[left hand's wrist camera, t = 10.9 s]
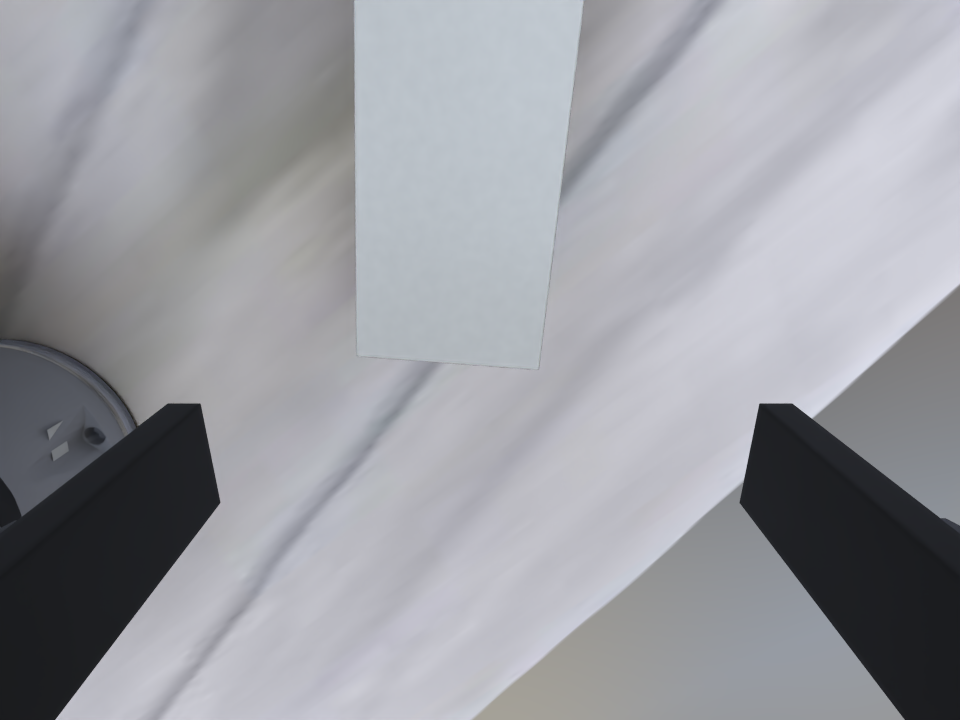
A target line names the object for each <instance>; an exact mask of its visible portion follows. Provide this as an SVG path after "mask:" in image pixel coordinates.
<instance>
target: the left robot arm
mask: <svg viewBox="0 0 960 720" xmlns="http://www.w3.org/2000/svg"><path fill="white" fill-rule="evenodd" d="M219 504H220V498H219V493H218V488H217V483H216V478H215V474H214V469H213V464H212V459H211V454H210V449H209V444H208V439H207V434H206V429H205V424H204V419H203V414H202V409H201V404H167V405H165V406H164V407H163V408H162V409H160V410H159V411H158V412H156V413H155V414H154V415H152V416H151V417H150V418H149V419H147V420H146V421H145V422H143V423H142V424H141V425H140V426H138V427H137V428H136V426H135V424H134V421H133V419H132V417H131V415H130V414H129V412H128V410H127V408H126V407H125V405H124V404H123V403H122V401H121V400H120V398H119V397H118V396H117V395H116V394H115V392H114V391H113V390H112V389H111V388H110V387H109V386H108V385H107V384H106V383H105V382H104V381H103V380H102V379H101V378H100V377H98V376H97V375H96V374H95V373H94V372H92V371H91V370H90V369H88V368H87V367H86V366H84V365H82V364H81V363H79V362H78V361H76V360H74V359H73V358H71V357H69V356H67V355H65V354H63V353H61V352H58V351H56V350H54V349H51V348H48V347H45V346H42V345H38V344H35V343H30V342H25V341H18V340H0V720H55V719H56V718H57V717H58V715H59V714H60V713H61V711H62V710H63V709H64V707H65V706H66V705H67V703H68V702H69V701H70V700H71V698H72V697H73V696H74V694H75V693H76V692H77V690H78V689H79V688H80V686H81V685H82V684H83V682H84V681H85V680H86V679H87V677H88V676H89V675H90V673H91V672H92V671H93V669H94V668H95V667H96V665H97V664H98V663H99V661H100V660H101V659H102V658H103V656H104V655H105V654H106V652H107V651H108V650H109V648H110V647H111V646H112V644H113V643H114V642H115V640H116V639H117V638H118V637H119V635H120V634H121V633H122V631H123V630H124V629H125V627H126V626H127V625H128V623H129V622H130V621H131V619H132V618H133V617H134V615H135V614H136V613H137V612H138V610H139V609H140V608H141V606H142V605H143V604H144V602H145V601H146V600H147V598H148V597H149V596H150V594H151V593H152V592H153V591H154V589H155V588H156V587H157V585H158V584H159V583H160V581H161V580H162V579H163V577H164V576H165V575H166V573H167V572H168V571H169V570H170V568H171V567H172V566H173V564H174V563H175V562H176V560H177V559H178V558H179V556H180V555H181V554H182V552H183V551H184V550H185V549H186V547H187V546H188V545H189V543H190V542H191V541H192V539H193V538H194V537H195V535H196V534H197V533H198V531H199V530H200V529H201V528H202V526H203V525H204V524H205V522H206V521H207V520H208V518H209V517H210V516H211V514H212V513H213V512H214V510H215V509H216V508H217V507H218V505H219ZM740 504H741V505H742V507H743V508H744V509H745V510H746V512H747V513H748V514H749V516H750V517H751V518H752V520H753V521H754V522H755V524H756V525H757V526H758V528H759V529H760V530H761V531H762V533H763V534H764V535H765V537H766V538H767V539H768V541H769V542H770V543H771V545H772V546H773V547H774V549H775V550H776V551H777V552H778V554H779V555H780V556H781V558H782V559H783V560H784V562H785V563H786V564H787V566H788V567H789V568H790V570H791V571H792V572H793V573H794V575H795V576H796V577H797V579H798V580H799V581H800V583H801V584H802V585H803V587H804V588H805V589H806V590H807V592H808V593H809V594H810V596H811V597H812V598H813V600H814V601H815V602H816V604H817V605H818V606H819V608H820V609H821V610H822V612H823V613H824V614H825V615H826V617H827V618H828V619H829V621H830V622H831V623H832V625H833V626H834V627H835V629H836V630H837V631H838V633H839V634H840V635H841V636H842V638H843V639H844V640H845V642H846V643H847V644H848V646H849V647H850V648H851V650H852V651H853V652H854V653H855V655H856V656H857V658H858V659H859V660H860V661H861V663H862V664H863V665H864V667H865V668H866V669H867V671H868V672H869V673H870V675H871V676H872V677H873V679H874V680H875V681H876V682H877V684H878V685H879V686H880V688H881V689H882V690H883V692H884V693H885V694H886V696H887V697H888V698H889V700H890V701H891V702H892V703H893V705H894V706H895V707H896V709H897V710H898V711H899V713H900V714H901V715H902V717H903V718H904V719H905V720H960V526H959V525H957V524H955V523H953V522H951V521H950V520H948V519H945V518H939V517H938V516H937V515H935V514H934V513H933V512H931V511H930V510H929V509H928V508H926V507H925V506H924V505H922V504H921V503H920V502H918V501H917V500H916V499H915V498H913V497H912V496H911V495H910V494H908V493H907V492H906V491H904V490H903V489H902V488H900V487H899V486H898V485H897V484H895V483H894V482H893V481H891V480H890V479H889V478H888V477H886V476H885V475H884V474H882V473H881V472H880V471H878V470H877V469H876V468H875V467H873V466H872V465H871V464H869V463H868V462H867V461H866V460H864V459H863V458H862V457H860V456H859V455H858V454H857V453H855V452H854V451H853V450H851V449H850V448H849V447H847V446H846V445H845V444H844V443H842V442H841V441H840V440H838V439H837V438H836V437H835V436H833V435H832V434H831V433H829V432H828V431H827V430H826V429H824V428H823V427H822V426H820V425H819V424H818V423H816V422H815V421H814V420H813V419H811V418H810V417H809V416H808V415H806V414H805V413H804V412H802V411H801V410H800V409H798V408H797V407H796V406H795V405H793V404H759V409H758V414H757V419H756V424H755V429H754V434H753V439H752V444H751V449H750V454H749V459H748V464H747V469H746V474H745V478H744V483H743V489H742V494H741V498H740Z"/></svg>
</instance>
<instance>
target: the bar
mask: <svg viewBox="0 0 960 720" xmlns="http://www.w3.org/2000/svg"><path fill="white" fill-rule="evenodd" d="M583 8H584V0H354V98H355V250H356V355H357V356H358V357H370V358H384V359H397V360H410V361H423V362H437V363H450V364H463V365H476V366H490V367H503V368H516V369H529V370H539V366H540V357H541V349H542V341H543V333H544V325H545V317H546V309H547V301H548V292H549V284H550V276H551V268H552V260H553V252H554V244H555V236H556V227H557V219H558V211H559V203H560V195H561V187H562V179H563V171H564V162H565V154H566V146H567V138H568V130H569V122H570V114H571V106H572V97H573V89H574V81H575V73H576V65H577V57H578V49H579V41H580V32H581V24H582V16H583Z"/></svg>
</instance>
